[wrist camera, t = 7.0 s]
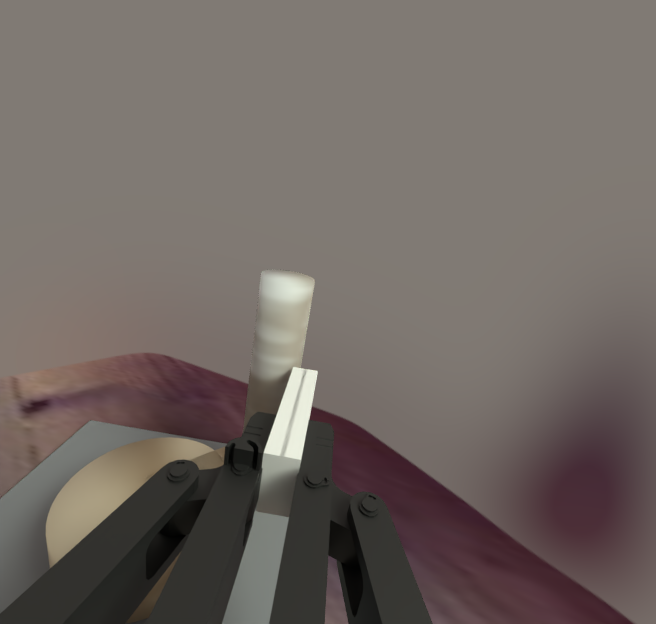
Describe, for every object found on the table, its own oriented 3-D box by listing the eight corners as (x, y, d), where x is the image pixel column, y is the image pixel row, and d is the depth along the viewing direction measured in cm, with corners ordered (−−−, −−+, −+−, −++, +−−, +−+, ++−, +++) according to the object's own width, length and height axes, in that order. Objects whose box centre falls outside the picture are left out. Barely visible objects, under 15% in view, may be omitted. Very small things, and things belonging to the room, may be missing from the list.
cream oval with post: (60, 676, 12) (14, 331, 8) (44, 511, 18) (13, 252, 13) (314, 517, 20) (361, 300, 16) (249, 436, 26) (271, 258, 21)
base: (-251, 724, 11) (-255, 717, 10) (90, 423, 25) (90, 418, 25) (286, 808, 11) (287, 803, 11) (318, 463, 25) (319, 458, 25)
